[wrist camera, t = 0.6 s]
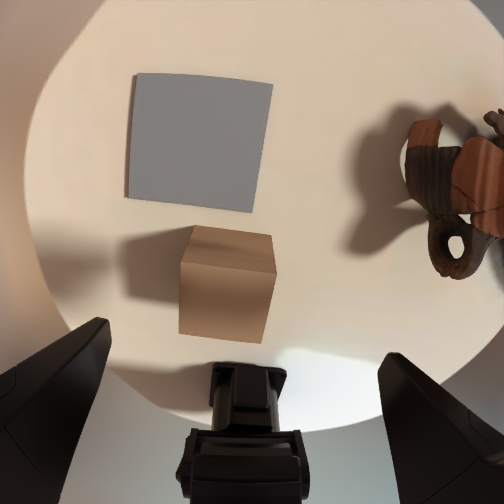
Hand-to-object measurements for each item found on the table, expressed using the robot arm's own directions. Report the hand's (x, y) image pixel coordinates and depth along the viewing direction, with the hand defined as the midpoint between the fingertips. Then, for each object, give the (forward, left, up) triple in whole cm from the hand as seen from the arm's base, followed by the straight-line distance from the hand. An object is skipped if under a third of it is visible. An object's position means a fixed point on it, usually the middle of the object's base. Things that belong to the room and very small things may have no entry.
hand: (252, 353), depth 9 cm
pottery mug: (+5, -14, -13) cm, 19 cm away
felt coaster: (+4, +4, -12) cm, 13 cm away
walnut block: (-4, +1, -12) cm, 13 cm away
